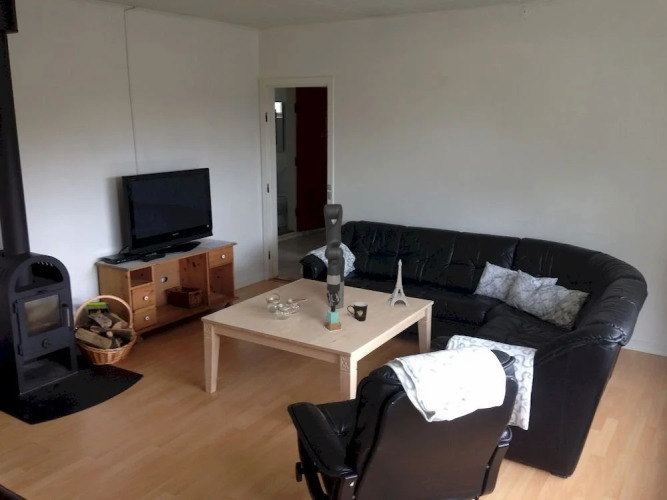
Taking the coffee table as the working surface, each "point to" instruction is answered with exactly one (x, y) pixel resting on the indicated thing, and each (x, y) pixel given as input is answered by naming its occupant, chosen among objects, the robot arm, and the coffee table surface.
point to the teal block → (333, 317)
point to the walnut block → (332, 326)
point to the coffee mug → (359, 311)
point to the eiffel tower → (395, 294)
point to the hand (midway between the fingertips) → (333, 311)
